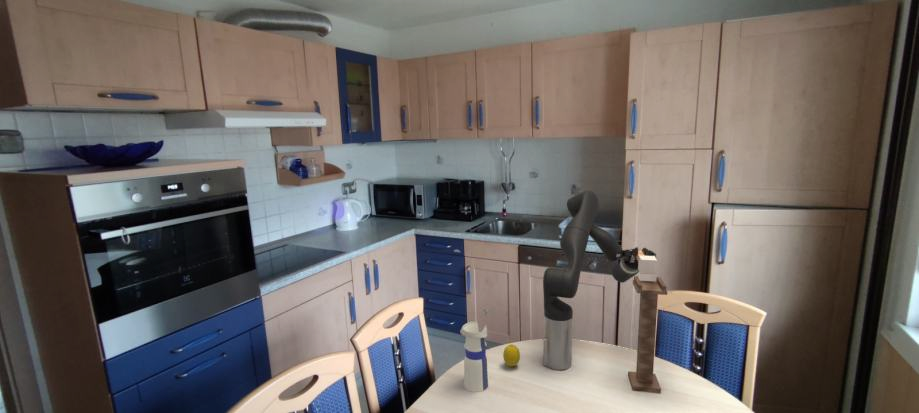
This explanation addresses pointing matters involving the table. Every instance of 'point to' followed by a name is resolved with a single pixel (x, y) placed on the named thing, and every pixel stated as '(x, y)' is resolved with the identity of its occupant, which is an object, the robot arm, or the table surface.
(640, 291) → the tall stand
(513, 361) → the lemon
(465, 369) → the white and blue pitcher
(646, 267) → the plug rod
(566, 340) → the robot arm
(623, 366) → the table surface
